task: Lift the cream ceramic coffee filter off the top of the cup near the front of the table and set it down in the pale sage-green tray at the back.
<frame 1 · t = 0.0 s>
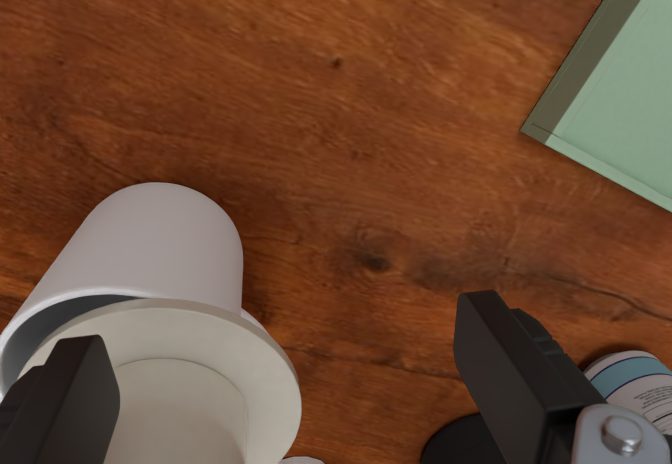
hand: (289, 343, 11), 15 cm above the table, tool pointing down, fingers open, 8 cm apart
cup: (195, 265, 27), on the table, touching filter
filter: (167, 408, 18), point 10 cm above the table, touching cup
pen holder: (471, 448, 38), on the table
beverage can: (606, 375, 36), on the table
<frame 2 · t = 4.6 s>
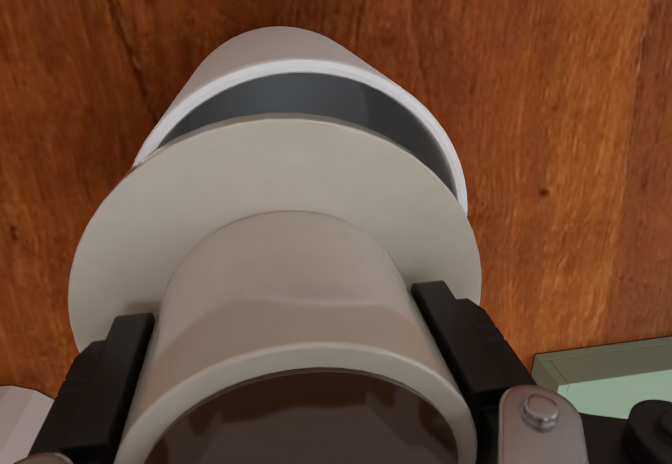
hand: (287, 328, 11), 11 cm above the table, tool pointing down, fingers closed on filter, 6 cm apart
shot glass: (15, 422, 26), on the table
cup: (274, 168, 21), on the table, touching filter
tray: (638, 413, 33), on the table
filter: (286, 306, 12), point 10 cm above the table, touching cup, gripper
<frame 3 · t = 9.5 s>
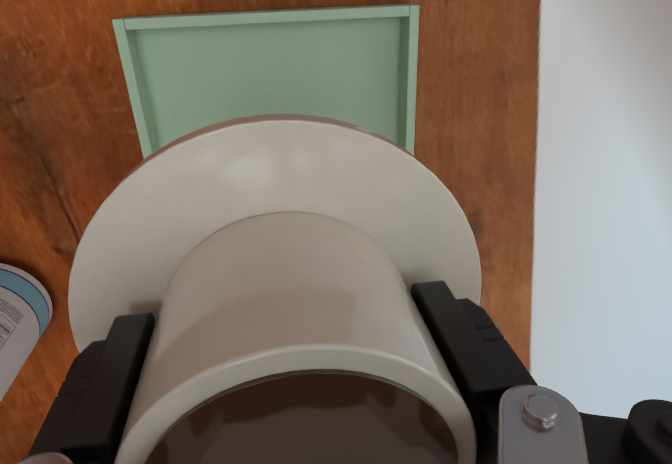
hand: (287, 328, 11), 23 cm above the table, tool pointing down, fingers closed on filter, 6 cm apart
tray: (279, 118, 32), on the table
filter: (286, 307, 12), point 22 cm above the table, touching gripper
beverage can: (7, 294, 35), on the table
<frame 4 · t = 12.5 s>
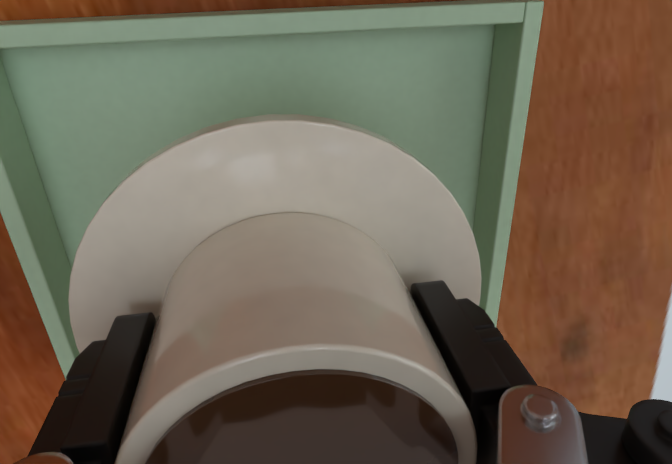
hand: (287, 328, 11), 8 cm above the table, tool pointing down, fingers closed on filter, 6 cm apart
tray: (276, 194, 19), on the table
filter: (286, 307, 12), point 7 cm above the table, touching gripper
when the fingers open (2 cm above the table, at t = 14.7 s): filter stays where it is, resting on tray.
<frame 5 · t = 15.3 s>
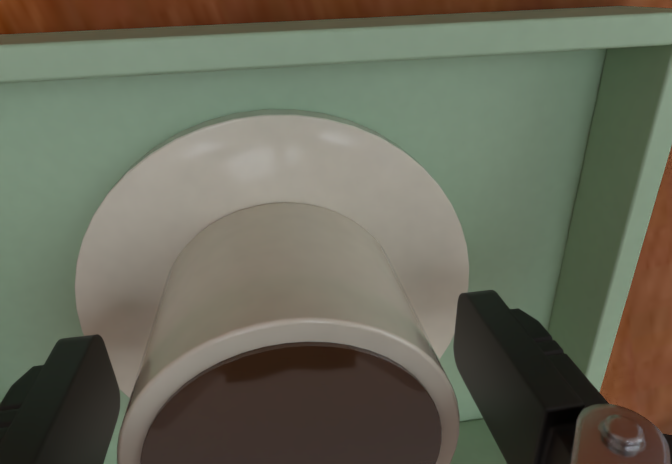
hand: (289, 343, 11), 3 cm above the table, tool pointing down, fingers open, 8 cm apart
tray: (282, 279, 13), on the table
filter: (283, 295, 13), point 1 cm above the table, touching tray
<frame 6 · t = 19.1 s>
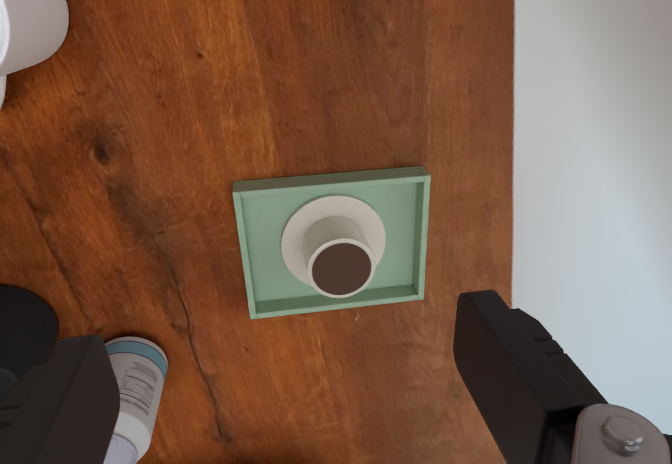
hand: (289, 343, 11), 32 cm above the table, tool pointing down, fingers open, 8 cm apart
cup: (10, 31, 35), on the table
tray: (332, 237, 47), on the table
filter: (333, 241, 46), point 1 cm above the table, touching tray
pen holder: (11, 320, 46), on the table
beverage can: (134, 355, 50), on the table
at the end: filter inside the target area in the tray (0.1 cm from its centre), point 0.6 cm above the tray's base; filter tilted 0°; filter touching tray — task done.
